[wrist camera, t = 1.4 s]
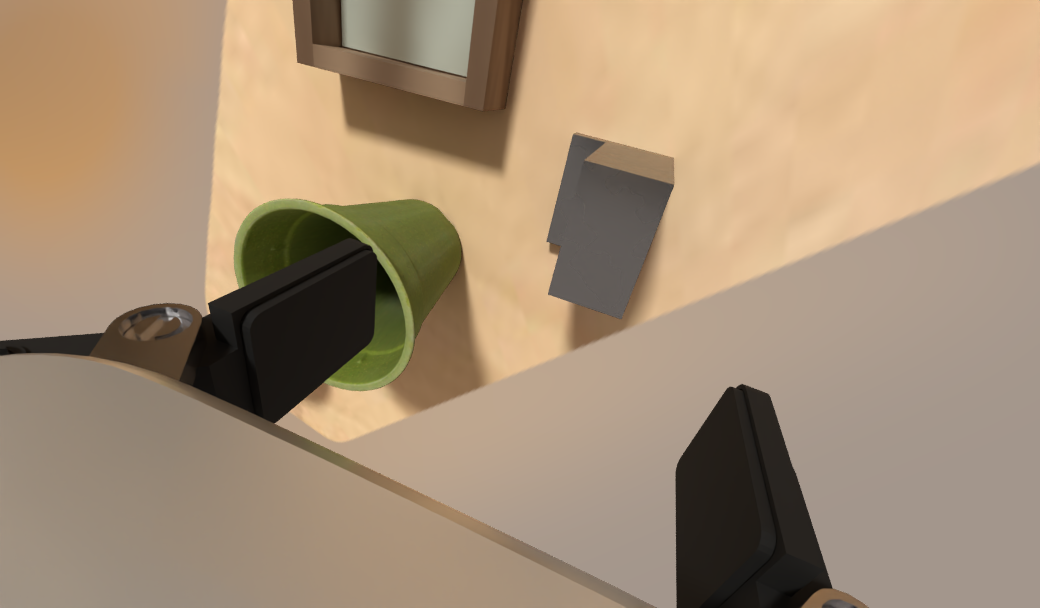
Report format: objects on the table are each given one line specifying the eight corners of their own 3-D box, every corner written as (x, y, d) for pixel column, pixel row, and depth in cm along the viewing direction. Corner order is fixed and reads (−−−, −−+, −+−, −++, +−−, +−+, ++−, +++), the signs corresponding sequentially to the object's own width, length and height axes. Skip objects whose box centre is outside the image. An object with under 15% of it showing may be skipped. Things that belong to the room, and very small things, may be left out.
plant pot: (515, 291, 32) (448, 378, 22) (401, 320, 37) (307, 401, 27) (450, 138, 28) (335, 164, 18) (333, 195, 33) (196, 238, 23)
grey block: (673, 157, 24) (674, 184, 17) (633, 263, 28) (621, 319, 21) (576, 132, 25) (541, 148, 18) (550, 237, 29) (512, 282, 22)
